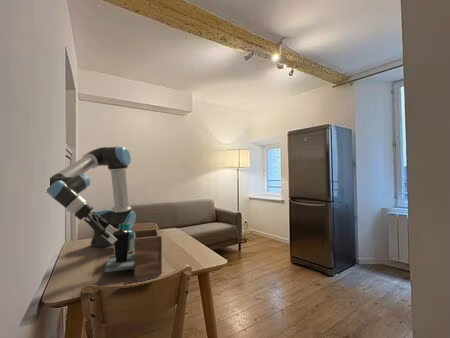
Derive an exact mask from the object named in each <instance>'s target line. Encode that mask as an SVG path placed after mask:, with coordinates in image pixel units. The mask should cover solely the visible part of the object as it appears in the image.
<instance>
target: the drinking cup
mask: <svg viewBox="0 0 450 338" xmlns="http://www.w3.org/2000/svg"><path fill="white" fill-rule="evenodd" d="M120 227H121V229H120V230H119V229H116V230H117V231H115V232H113V236H114V237H115V238H116V239H117V240H116V241H115V242H114V245H113V248H114V247H115V254H114V256H115V257H116V262H125V261H127V253H128V241H129V233H130V231H128V230H125V229H122V219H120Z"/></svg>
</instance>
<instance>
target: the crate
mask: <svg viewBox="0 0 450 338" xmlns="http://www.w3.org/2000/svg"><path fill="white" fill-rule="evenodd" d="M162 249H163V248H162V234H161V231H160V228H150V229H138V230H135V231H134V253H133V254H127V261H125V262H116V257H115V255H112V256H111V255H110V256H109V257H108V260H107V263H106V265H105V268H104V273H108V272H117V271H125V270H132V269H133V270H134V277H135V278H136V277H142V276H150V275H156V274H157V275H158V274H163V273H162V271H163V269H162V268H163V263H162V261H163V260H162V259H163V258H162V257H163V255H162V254H163V253H162Z"/></svg>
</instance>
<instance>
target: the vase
mask: <svg viewBox="0 0 450 338" xmlns="http://www.w3.org/2000/svg"><path fill="white" fill-rule="evenodd" d="M120 229H121V227H120V224H119V229H118V230H120ZM122 229H125V230H128V231H130V233H129V241H128V253H127V254H134V238H135V231H133V229H131V228H130V226H129V223H122ZM113 253H114V255H115V247H114V246H113Z"/></svg>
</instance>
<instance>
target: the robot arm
mask: <svg viewBox="0 0 450 338" xmlns="http://www.w3.org/2000/svg"><path fill="white" fill-rule="evenodd" d="M131 161H132V159H131V154H130V152H129V150H128V149H127V148H126V147H123V146H109V147H107V146H105V147H103V146H102V147H99V148H96V149H95V148H94V149H92V150H90V151H88V152H86V153H85V154H84V155H83V156H82V157H81V158H80V159H79V160H76V161H75V162H73V163H72V164H70V165H69V166H66V167H65V168H63V169H62V170H59V171H58V172H57V173H55V174H53V175H51V176H52V177H51V176H50V177H51V178H50V187H49V188H48V189H47V192H46V193H47V194H48V195H49V196H50V197H51V198H52V199H53V200H54V201H56V202H58V204H60V205H61V206H63V207H64V208H66V211H67V212H70V213H71V214H74V216H75V217H76V218H77V219H78V220H81V221H82V220H83V221H85V223H87V225H88V226H89V227H90V228H91V229H92V230H93V235H92V238H91V241H90V247H91V246H92V247H91V248H93V247H97V248H96V249H100V248H107V247H112V246H114V242H115V241H116V240H117V239H116V238H115V237H114V236H113V232H115V231H117V230H119V224H120V219H122V223H129V226H130V229H132V228H133V227H134V225H135V224H136V223H135V222H136V219H137V213H136V212H135V211H134V210H132V206H130V202H129V193H128V183H127V172H126V170H127V169H128V166H129V165H130V164H131ZM101 166H107V170H109V171H110V175H111V185H112V194H113V195H112V196H113V203H114V208H106V209H101V210H96V211H92V210H93V209H94V207H93V205H92V204H90V203H89V202H87V200H86V199H84V198H83V197H82V196H81V195H79V193H82V192H83V191H84V190H86V189H87V188H88V187H89V186H90V184H91V180H90V177H89V176H88V175H87V174H85V173H86V172H88V171H89V170H91V169H95V168H97V167H101Z"/></svg>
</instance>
